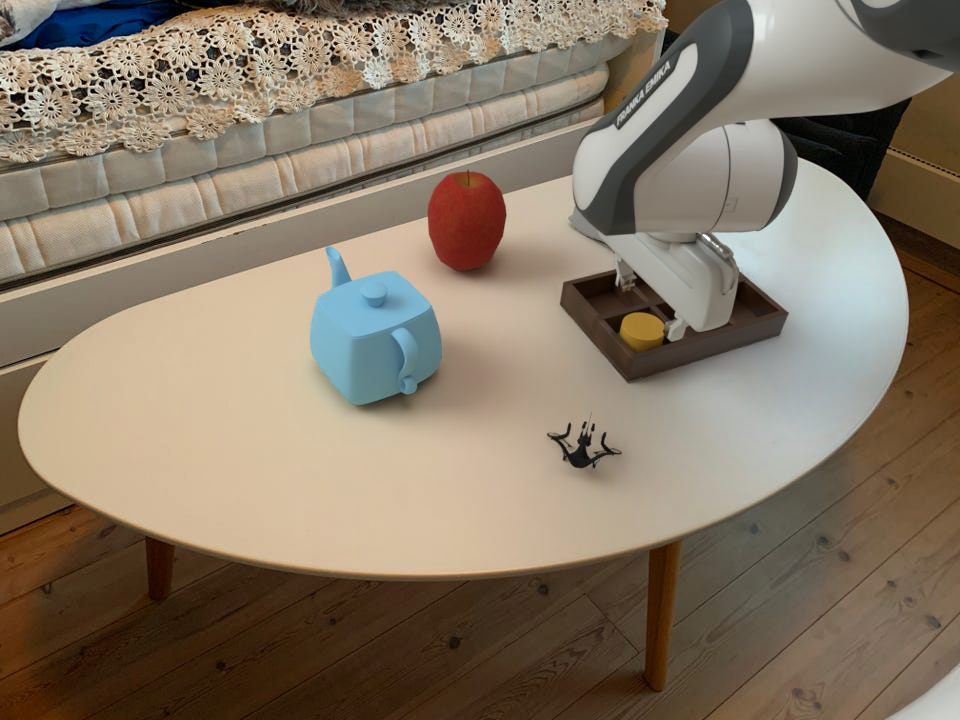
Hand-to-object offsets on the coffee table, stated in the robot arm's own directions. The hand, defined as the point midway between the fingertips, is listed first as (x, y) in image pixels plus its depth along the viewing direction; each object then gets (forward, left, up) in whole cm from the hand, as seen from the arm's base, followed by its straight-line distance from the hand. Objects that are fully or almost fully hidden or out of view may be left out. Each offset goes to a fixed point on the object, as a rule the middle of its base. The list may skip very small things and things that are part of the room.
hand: (647, 311), depth 88 cm
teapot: (+10, +30, -6) cm, 32 cm away
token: (0, 0, -5) cm, 5 cm away
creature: (-11, +14, -6) cm, 19 cm away
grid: (+4, -7, -6) cm, 10 cm away
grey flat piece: (+23, -8, -6) cm, 25 cm away
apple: (+24, +12, -6) cm, 27 cm away
